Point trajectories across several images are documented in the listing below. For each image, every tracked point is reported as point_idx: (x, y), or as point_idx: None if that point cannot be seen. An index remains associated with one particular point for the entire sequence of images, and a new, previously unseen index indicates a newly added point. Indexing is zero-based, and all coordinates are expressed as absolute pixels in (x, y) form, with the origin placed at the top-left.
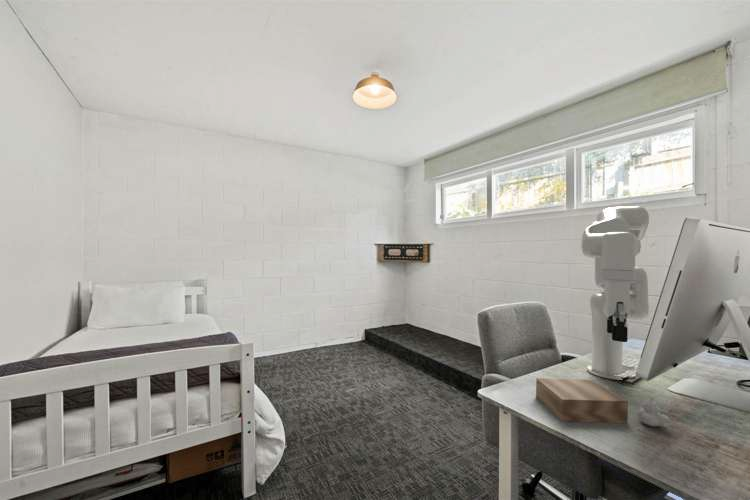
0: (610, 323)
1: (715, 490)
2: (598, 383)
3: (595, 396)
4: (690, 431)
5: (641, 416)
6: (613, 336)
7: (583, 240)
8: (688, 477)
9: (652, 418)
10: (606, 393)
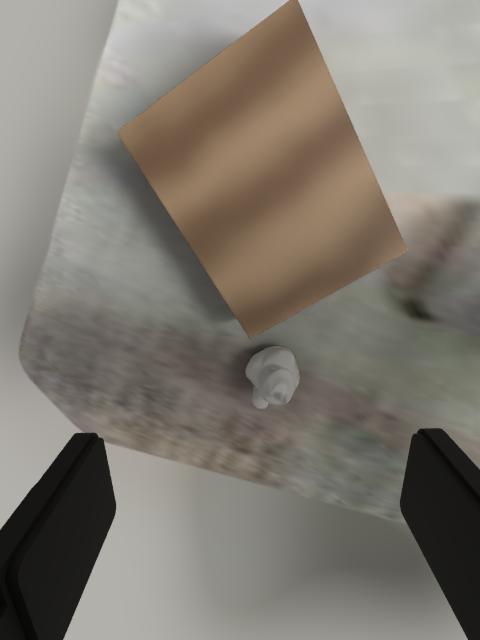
0: (474, 540)
1: (62, 404)
2: (374, 268)
3: (226, 249)
4: (286, 427)
5: (261, 353)
6: (59, 463)
7: None
8: (73, 378)
9: (246, 374)
10: (280, 285)
